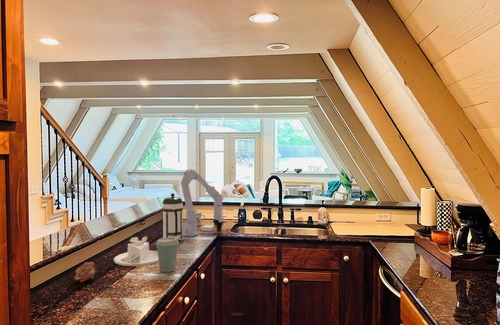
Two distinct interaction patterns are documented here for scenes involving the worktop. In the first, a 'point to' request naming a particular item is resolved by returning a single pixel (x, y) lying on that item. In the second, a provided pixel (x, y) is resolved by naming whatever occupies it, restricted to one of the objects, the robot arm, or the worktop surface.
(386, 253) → the worktop surface
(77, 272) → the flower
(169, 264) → the disposable coffee cup
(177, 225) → the coffee press
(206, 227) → the ceramic plinth
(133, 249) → the dish
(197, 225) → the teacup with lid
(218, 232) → the brass cube
